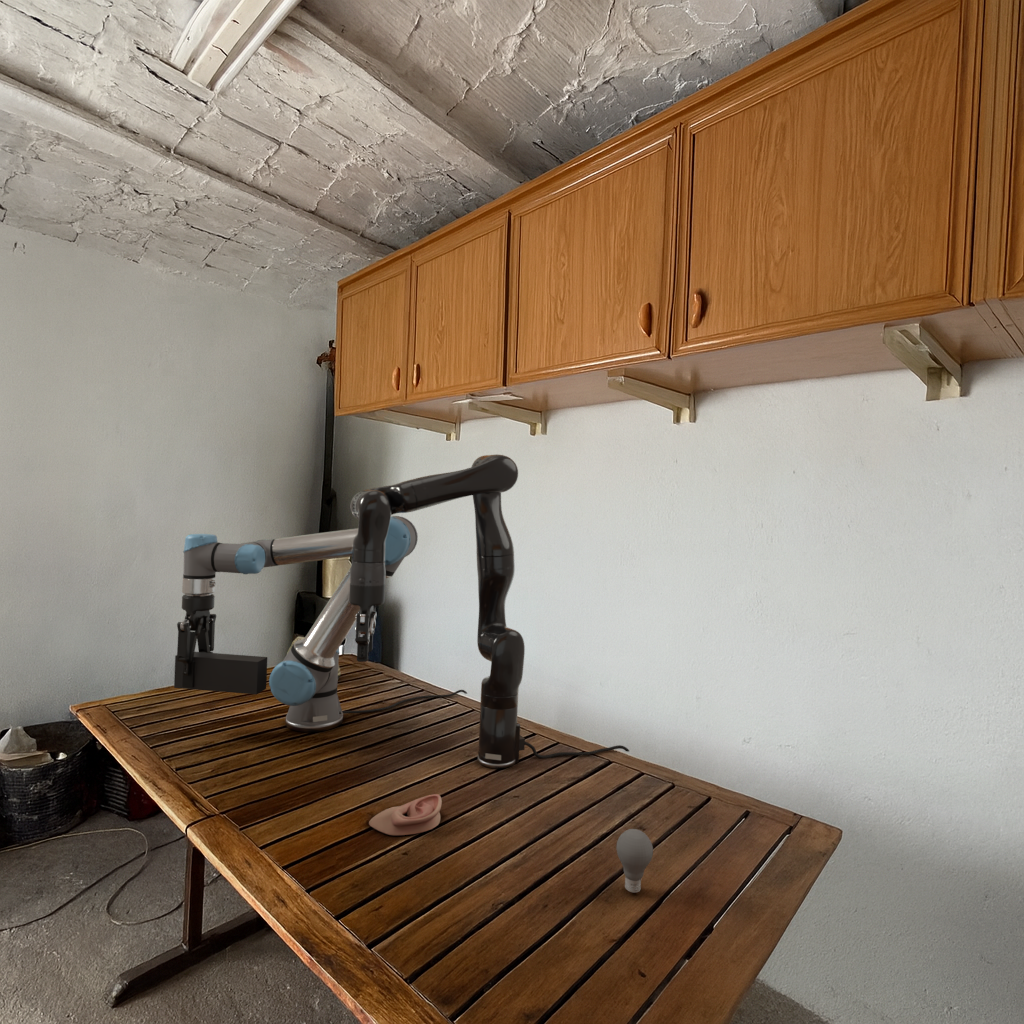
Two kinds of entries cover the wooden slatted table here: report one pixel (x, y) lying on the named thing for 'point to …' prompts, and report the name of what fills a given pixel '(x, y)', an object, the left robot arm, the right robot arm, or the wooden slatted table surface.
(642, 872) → the light bulb
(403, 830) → the anatomical model
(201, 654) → the bar
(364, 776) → the wooden slatted table surface
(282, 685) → the left robot arm
